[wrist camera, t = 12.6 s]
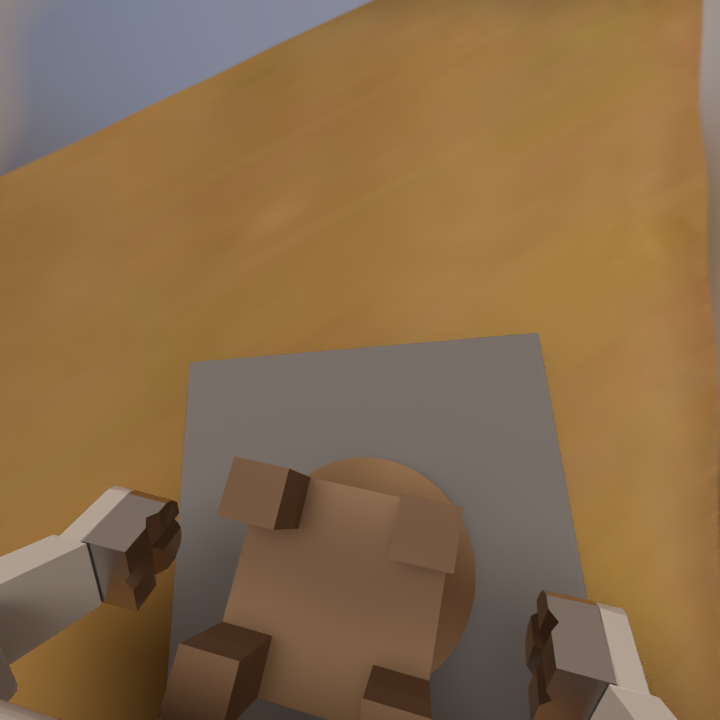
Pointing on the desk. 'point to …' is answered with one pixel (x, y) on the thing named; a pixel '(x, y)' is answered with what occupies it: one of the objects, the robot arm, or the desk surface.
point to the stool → (331, 596)
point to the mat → (412, 449)
